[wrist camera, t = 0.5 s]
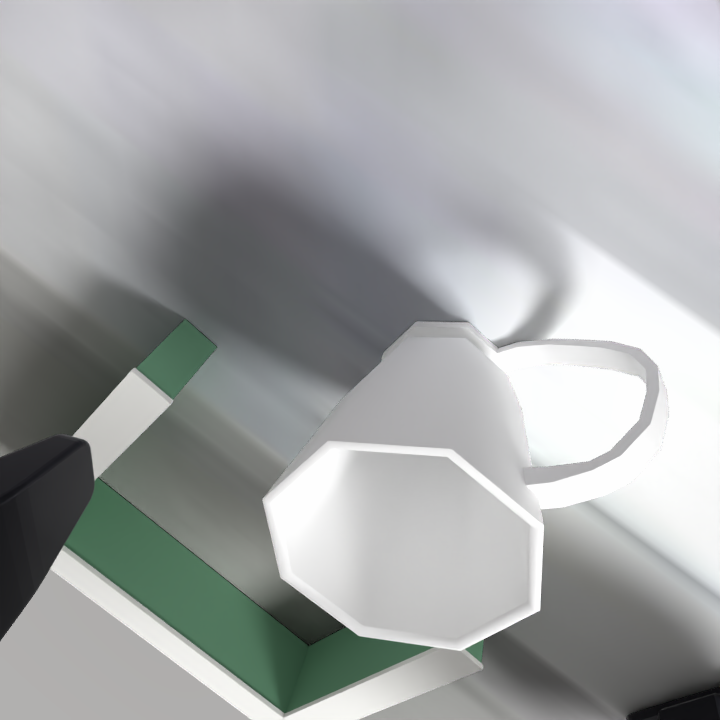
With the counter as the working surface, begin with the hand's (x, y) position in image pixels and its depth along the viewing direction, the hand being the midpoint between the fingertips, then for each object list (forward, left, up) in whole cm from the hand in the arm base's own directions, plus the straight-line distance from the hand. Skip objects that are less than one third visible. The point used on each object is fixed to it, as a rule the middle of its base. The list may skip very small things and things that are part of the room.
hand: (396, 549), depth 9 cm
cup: (-4, +3, -13) cm, 14 cm away
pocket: (-4, +15, -13) cm, 20 cm away
